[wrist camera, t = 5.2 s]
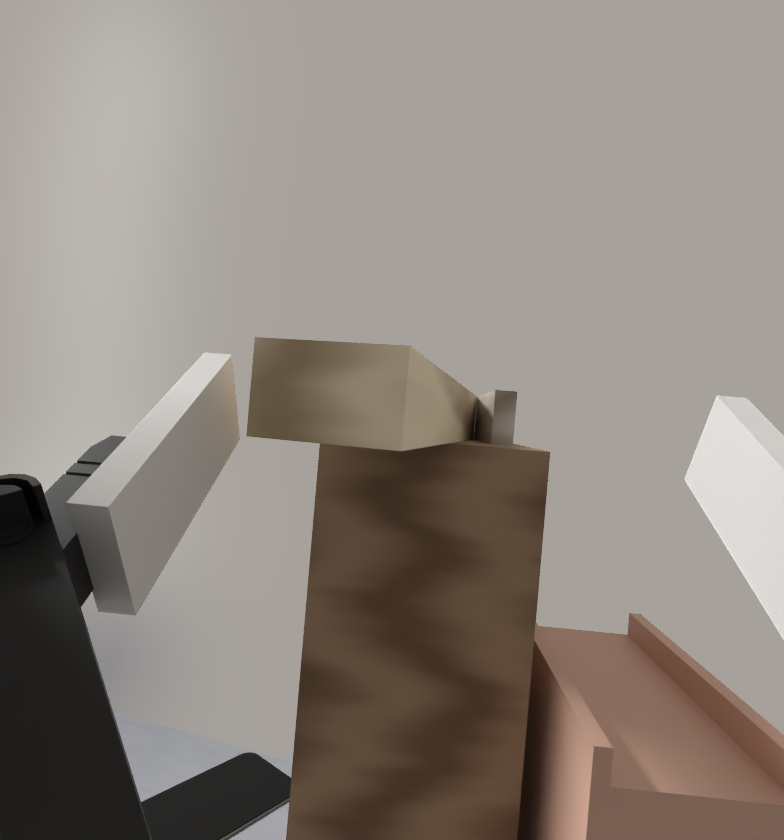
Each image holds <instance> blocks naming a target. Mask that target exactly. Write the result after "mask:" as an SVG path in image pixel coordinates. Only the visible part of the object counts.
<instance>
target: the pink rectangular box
mask: <svg viewBox="0 0 784 840" xmlns="http://www.w3.org/2000/svg"><path fill="white" fill-rule="evenodd" d="M517 840H784V735H783V734H782V733H781V732H779V731H778V730H777V729H776V728H775V727H773V726H772V725H771V724H770V723H769V722H768V721H766V720H765V719H764V718H763V717H762V716H760V715H759V714H758V713H757V712H756V711H754V710H753V709H752V708H751V707H750V706H749V705H747V704H746V703H745V702H744V701H743V700H741V699H740V698H739V697H738V696H737V695H736V694H734V693H733V692H732V691H730V689H728V688H727V687H726V686H725V685H724V684H722V683H721V682H720V681H719V680H718V679H716V678H715V677H714V676H713V675H712V674H711V673H709V672H708V671H707V670H706V669H705V668H704V667H702V666H701V665H700V664H699V663H697V662H696V661H695V660H694V659H693V658H691V657H690V656H689V655H688V654H687V653H686V652H685V651H683V650H682V649H681V648H680V647H678V646H677V645H676V644H675V643H674V642H673V641H671V640H670V639H669V638H668V637H667V636H666V635H664V634H663V633H662V632H661V631H660V630H658V629H657V628H656V627H655V626H654V625H653V624H651V623H650V622H649V621H648V620H647V619H645V618H644V617H643V616H642V615H641V614H632V613H630V614H629V626H628V635H623V634H613V633H603V632H593V631H582V630H572V629H562V628H552V627H541V626H538V625H537V623H535V635H534V647H533V658H532V670H531V682H530V693H529V705H528V717H527V729H526V740H525V752H524V764H523V776H522V787H521V799H520V811H519V822H518V834H517Z"/></svg>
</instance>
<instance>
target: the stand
mask: <svg viewBox="0 0 784 840" xmlns="http://www.w3.org/2000/svg"><path fill="white" fill-rule="evenodd" d="M516 400H517V392H513V391H501V390H495V391H492V392H489V393H486V394H484V395H481V396H479V397H477V404H476V416H475V428H474V439H472V440H466V441H460V442H454V443H448V444H442V445H436V446H430V447H424V448H418V449H411V450H405V451H394V450H383V449H373V448H363V447H353V446H342V445H332V444H322V443H320V449H319V461H318V472H317V484H316V496H315V509H314V520H313V531H312V543H311V554H310V566H309V578H308V590H307V601H306V613H305V625H304V636H303V648H302V660H301V672H300V683H299V695H298V708H297V718H296V731H295V742H294V754H293V765H292V777H291V789H290V800H289V812H288V824H287V836H286V840H517V834H518V822H519V811H520V799H521V787H522V776H523V764H524V752H525V740H526V729H527V717H528V705H529V693H530V682H531V670H532V658H533V647H534V635H535V623H536V611H537V600H538V587H539V576H540V564H541V553H542V540H543V528H544V518H545V517H544V516H545V505H546V494H547V482H548V471H549V470H548V469H549V459H550V452H548V451H543V450H539V449H534V448H529V447H525V446H520V445H515V444H513V435H514V423H515V412H516Z"/></svg>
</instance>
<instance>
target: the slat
mask: <svg viewBox="0 0 784 840" xmlns="http://www.w3.org/2000/svg"><path fill="white" fill-rule="evenodd" d="M476 404H477V396H475V395H474V394H473V393H471V392H470V391H469V390H467V389H466V388H465V387H463V386H462V385H461V384H460V383H458V382H457V381H456V380H454V379H453V378H451V377H450V376H449V375H448V374H446V373H445V372H444V371H442V370H441V369H440V368H438V367H437V366H436V365H435V364H433V363H432V362H431V361H429V360H428V359H427V358H425V357H424V356H423V355H421V354H420V353H419V352H417V351H416V350H415V349H413V348H412V347H411V346H404V345H403V346H402V345H386V344H366V343H349V342H330V341H329V342H328V341H312V340H293V339H276V338H257V337H256V338H255V343H254V354H253V366H252V379H251V390H250V402H249V414H248V425H247V436H251V437H261V438H272V439H281V440H291V441H302V442H312V443H322V444H332V445H342V446H353V447H363V448H373V449H383V450H394V451H405V450H411V449H418V448H424V447H430V446H436V445H442V444H448V443H454V442H460V441H466V440H472V439H474V428H475V416H476Z"/></svg>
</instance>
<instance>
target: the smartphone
mask: <svg viewBox="0 0 784 840" xmlns="http://www.w3.org/2000/svg"><path fill="white" fill-rule="evenodd" d="M290 789H291V778H290V777H289V776H287V775H286V774H284V773H283V772H282V771H280V770H279V769H277V768H276V767H274V766H273V765H272V764H270V763H269V762H267V761H266V760H265V759H263V758H262V757H260V756H259V755H257V754H255V753H243V754H241V755H238V756H236V757H234V758H232V759H230V760H228V761H226V762H224V763H222V764H220V765H218V766H216V767H213V768H211V769H209V770H207V771H205V772H203V773H201V774H199V775H197V776H195V777H193V778H191V779H188V780H186V781H184V782H182V783H180V784H178V785H176V786H174V787H172V788H170V789H168V790H166V791H163V792H161V793H159V794H157V795H155V796H153V797H151V798H149V799H147V800H145V801H143V802H141V804H142V808H143V811H144V814H145V817H146V821H147V824H148V827H149V830H150V834H151V837H152V840H225V839H226V838H228V837H230V836H231V835H233V834H235V833H236V832H238V831H239V830H241V829H243V828H244V827H246V826H248V825H249V824H251V823H252V822H254V821H256V820H257V819H259V818H261V817H262V816H264V815H266V814H267V813H269V812H270V811H272V810H274V809H275V808H277V807H279V806H280V805H282V804H284V803H285V802H287V801H288V800H290Z"/></svg>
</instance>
